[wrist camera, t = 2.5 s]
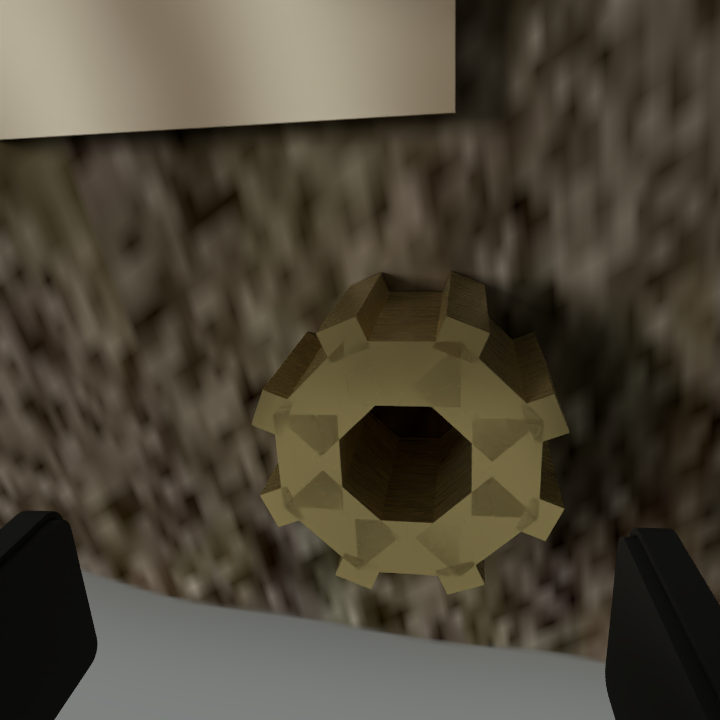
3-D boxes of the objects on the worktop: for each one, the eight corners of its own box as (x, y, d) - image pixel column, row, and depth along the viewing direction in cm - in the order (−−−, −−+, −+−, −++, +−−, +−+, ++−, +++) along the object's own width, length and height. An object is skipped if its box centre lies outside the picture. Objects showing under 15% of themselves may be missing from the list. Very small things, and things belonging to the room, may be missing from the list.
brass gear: (550, 269, 15) (578, 315, 12) (538, 501, 18) (557, 602, 14) (289, 273, 16) (238, 317, 13) (309, 491, 19) (271, 582, 15)
